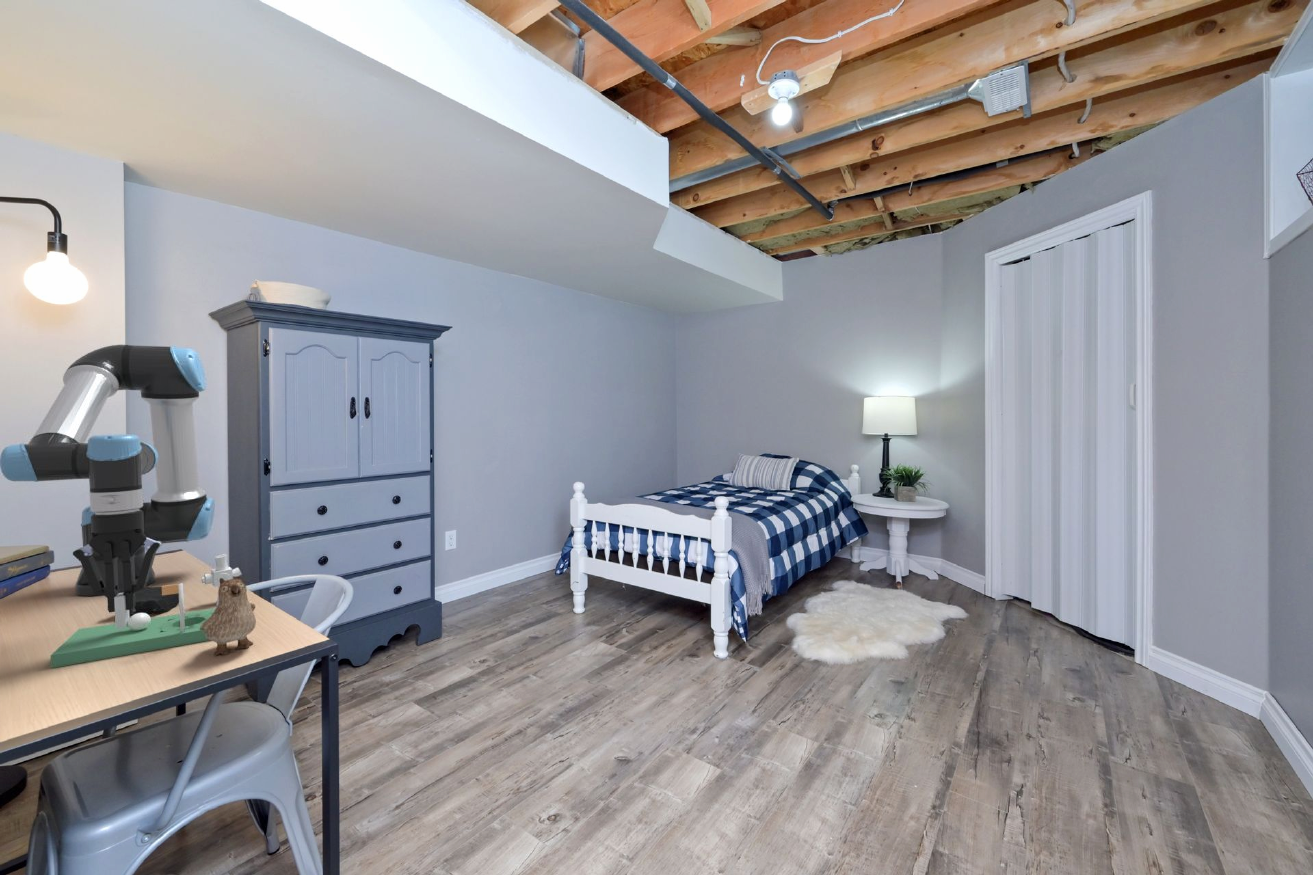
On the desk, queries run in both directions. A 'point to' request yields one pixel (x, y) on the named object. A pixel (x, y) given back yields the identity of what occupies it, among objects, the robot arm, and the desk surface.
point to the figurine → (231, 617)
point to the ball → (139, 621)
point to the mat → (134, 636)
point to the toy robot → (220, 573)
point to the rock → (153, 601)
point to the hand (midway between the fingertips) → (122, 625)
